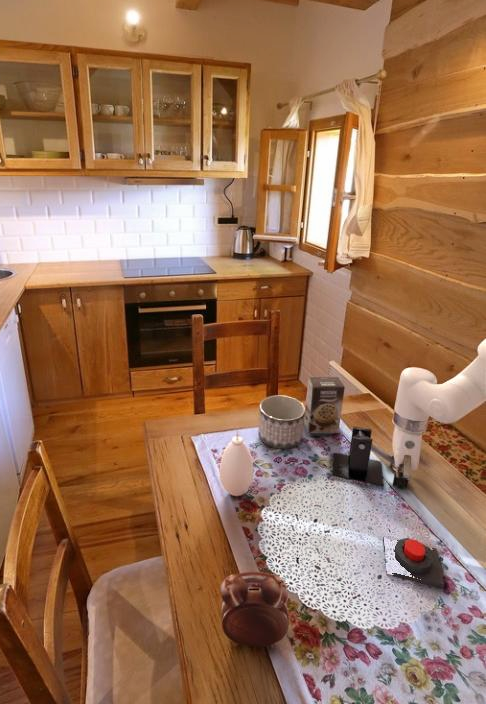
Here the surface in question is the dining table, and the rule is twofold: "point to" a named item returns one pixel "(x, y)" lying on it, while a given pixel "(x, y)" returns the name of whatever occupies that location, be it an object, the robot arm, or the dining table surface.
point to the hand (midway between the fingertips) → (397, 478)
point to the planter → (281, 421)
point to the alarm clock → (254, 609)
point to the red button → (414, 550)
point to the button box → (420, 566)
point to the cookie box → (323, 404)
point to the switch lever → (381, 452)
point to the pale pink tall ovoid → (236, 467)
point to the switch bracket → (358, 461)
